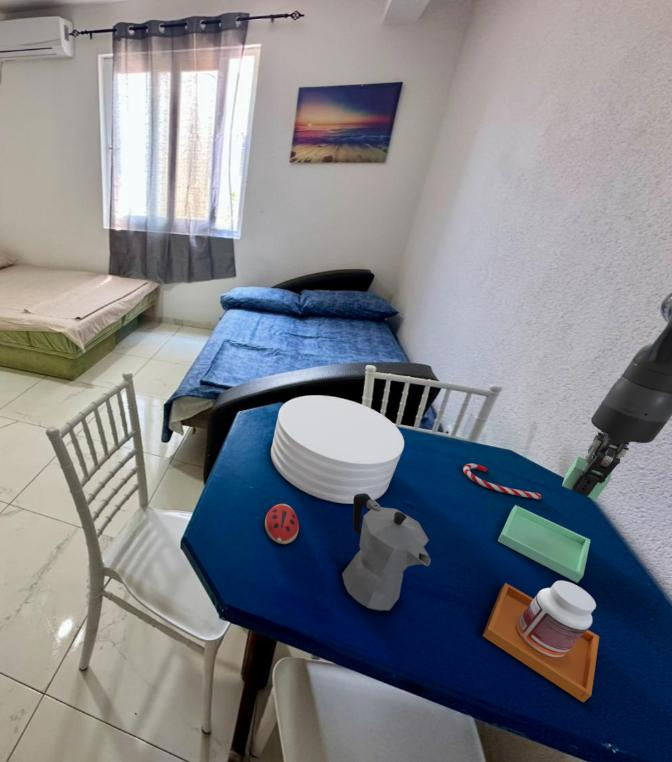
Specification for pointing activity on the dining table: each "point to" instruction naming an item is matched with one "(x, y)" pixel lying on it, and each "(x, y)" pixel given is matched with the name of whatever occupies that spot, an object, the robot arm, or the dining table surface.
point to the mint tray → (546, 543)
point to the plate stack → (335, 448)
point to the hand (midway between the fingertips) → (581, 485)
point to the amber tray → (563, 671)
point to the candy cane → (493, 486)
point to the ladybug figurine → (282, 524)
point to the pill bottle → (556, 618)
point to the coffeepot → (382, 553)
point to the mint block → (576, 472)
